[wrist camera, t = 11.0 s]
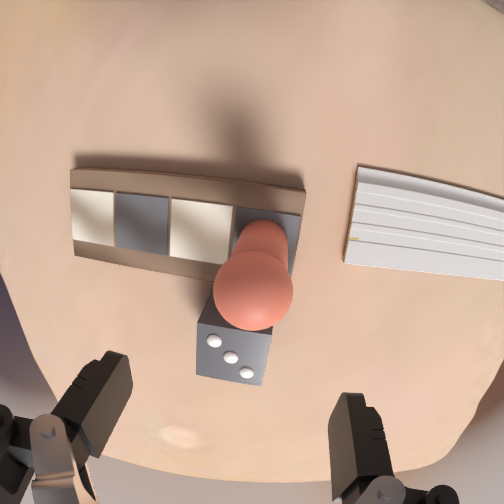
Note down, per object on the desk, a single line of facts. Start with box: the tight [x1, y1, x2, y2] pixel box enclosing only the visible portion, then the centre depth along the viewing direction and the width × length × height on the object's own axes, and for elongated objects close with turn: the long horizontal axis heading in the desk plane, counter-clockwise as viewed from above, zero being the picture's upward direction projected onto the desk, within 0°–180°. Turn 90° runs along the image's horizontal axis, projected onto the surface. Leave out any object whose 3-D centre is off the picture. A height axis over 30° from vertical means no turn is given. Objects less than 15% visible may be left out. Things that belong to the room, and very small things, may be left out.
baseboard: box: [343, 167, 504, 281], centre depth 23 cm, size 30×3×10 cm
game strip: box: [70, 167, 306, 282], centre depth 27 cm, size 9×22×2 cm, turn 83°
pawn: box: [213, 219, 293, 331], centre depth 21 cm, size 5×5×11 cm
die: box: [196, 289, 273, 386], centre depth 28 cm, size 6×6×6 cm
